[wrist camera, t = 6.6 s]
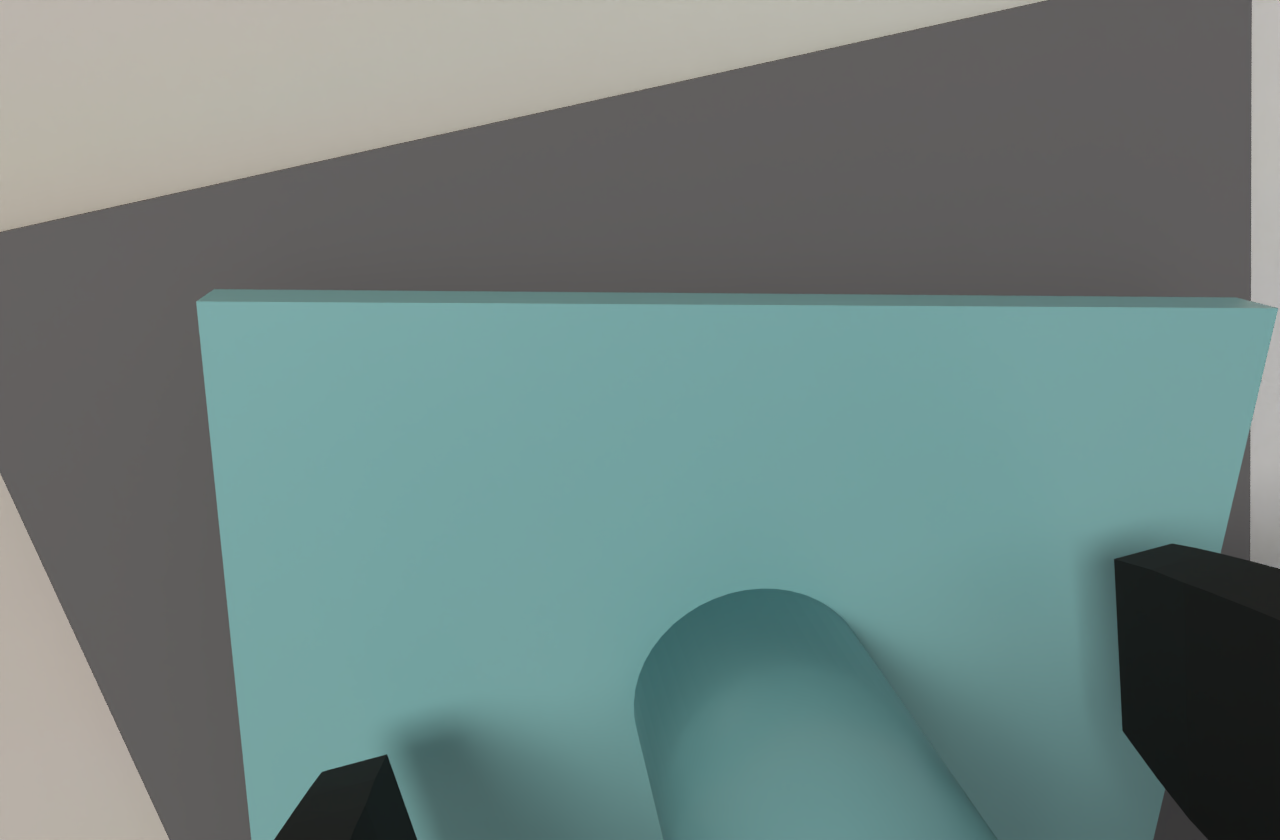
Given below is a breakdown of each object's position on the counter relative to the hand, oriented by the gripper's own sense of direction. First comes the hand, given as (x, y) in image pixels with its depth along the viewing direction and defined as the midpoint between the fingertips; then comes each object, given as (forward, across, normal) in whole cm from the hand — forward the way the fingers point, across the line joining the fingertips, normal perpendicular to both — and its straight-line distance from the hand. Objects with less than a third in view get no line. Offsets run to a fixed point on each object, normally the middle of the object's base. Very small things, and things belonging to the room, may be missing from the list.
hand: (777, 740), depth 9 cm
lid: (+2, 0, 0) cm, 2 cm away
